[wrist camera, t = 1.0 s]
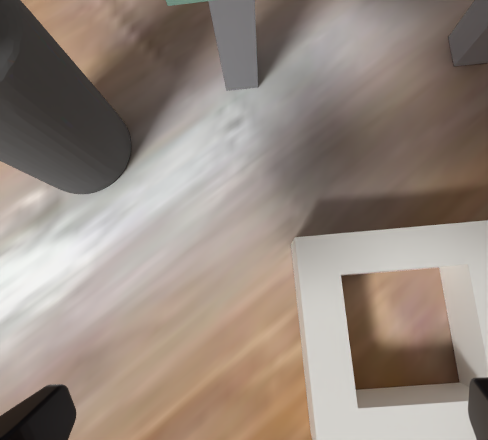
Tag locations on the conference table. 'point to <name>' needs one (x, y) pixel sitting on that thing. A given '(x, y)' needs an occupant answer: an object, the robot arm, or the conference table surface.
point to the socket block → (376, 261)
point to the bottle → (54, 111)
